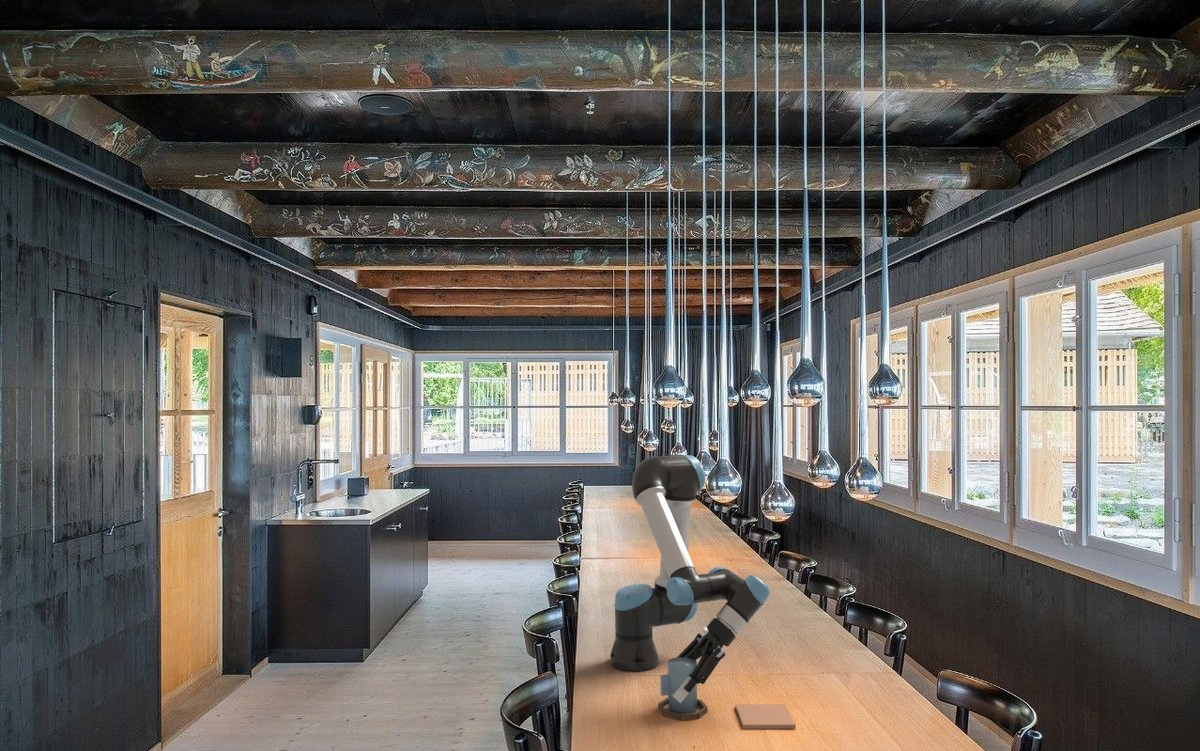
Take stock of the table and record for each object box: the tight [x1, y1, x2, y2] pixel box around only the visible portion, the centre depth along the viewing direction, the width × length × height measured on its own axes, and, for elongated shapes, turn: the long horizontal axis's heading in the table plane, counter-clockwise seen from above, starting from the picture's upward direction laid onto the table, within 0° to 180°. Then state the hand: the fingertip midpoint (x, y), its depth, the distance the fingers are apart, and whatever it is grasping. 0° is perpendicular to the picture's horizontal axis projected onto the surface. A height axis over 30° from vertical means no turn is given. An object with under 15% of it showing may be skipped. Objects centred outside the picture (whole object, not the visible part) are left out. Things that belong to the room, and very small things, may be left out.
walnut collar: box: [657, 697, 709, 721], centre depth 206 cm, size 12×12×1 cm
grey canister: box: [659, 656, 698, 714], centre depth 206 cm, size 10×8×12 cm
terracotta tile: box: [734, 703, 797, 730], centre depth 200 cm, size 13×13×1 cm
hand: (670, 693), depth 205 cm, fingers closed on grey canister, 8 cm apart
